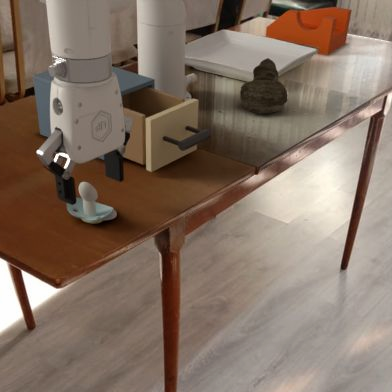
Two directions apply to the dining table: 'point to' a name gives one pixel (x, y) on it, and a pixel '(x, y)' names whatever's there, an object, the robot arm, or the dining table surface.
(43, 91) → the cabinet
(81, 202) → the pacifier
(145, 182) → the dining table surface
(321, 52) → the tape dispenser
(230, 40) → the square plate
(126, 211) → the dining table surface
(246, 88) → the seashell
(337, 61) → the dining table surface
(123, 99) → the drawer
